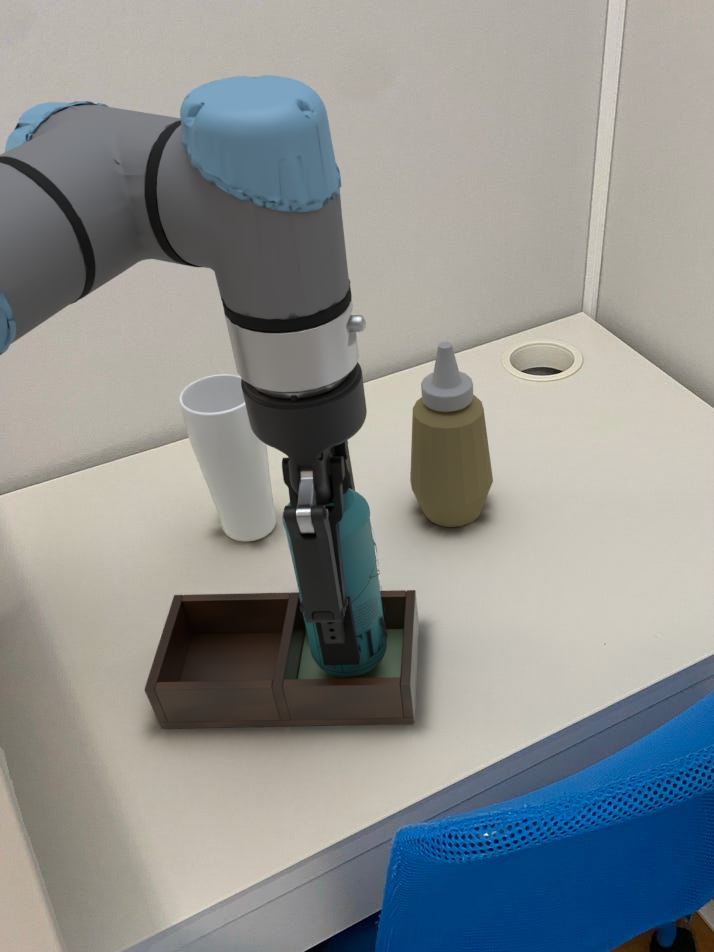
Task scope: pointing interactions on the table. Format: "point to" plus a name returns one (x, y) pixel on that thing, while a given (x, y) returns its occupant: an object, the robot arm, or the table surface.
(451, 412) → the squeeze bottle
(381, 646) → the beverage bottle
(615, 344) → the table surface
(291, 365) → the robot arm
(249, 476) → the drinking glass
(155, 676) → the divided box
